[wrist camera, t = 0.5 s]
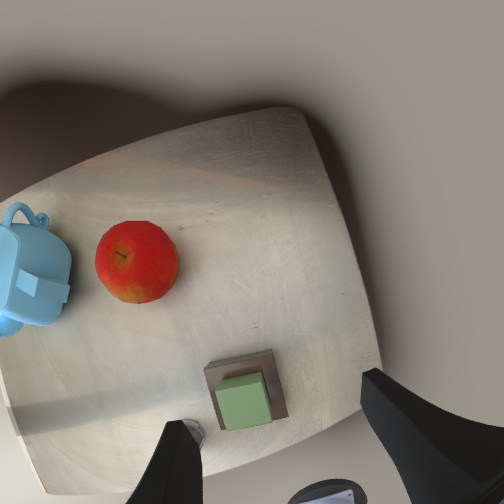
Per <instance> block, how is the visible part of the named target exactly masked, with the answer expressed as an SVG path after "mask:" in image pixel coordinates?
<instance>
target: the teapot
mask: <svg viewBox="0 0 504 504" xmlns="http://www.w3.org/2000/svg"><path fill="white" fill-rule="evenodd" d="M17 210H21V211H22V212H23V214H24V215H25V216H26V218H27V219H28V221H29V222H30V224H31V225H29V224H23V223H12V219H13V216H14V214H15V213H16V212H17ZM40 221H41V223H40ZM48 225H49V218H48V216H47V215H46V214H44V213H38V214H37V215H36V217H35V215H34V214H33V212H32V211H31V209H30V208H29V207H28V206H27V205H26V204H24V203H21V202H17V203H14V204H12V205H11V206H10V207H9V208H8V209H7V211H6V213H5V215H4V218H3V224H0V313H1V315H0V338H3V337H9V336H12V335H14V334H15V333H17V332H18V331H19V330H20V329H21V327H22V326H23V325H24V323H26V324H31V325H42V326H44V325H49V324H51V323H52V322H54V321H55V320H56V319H57V318H58V316H59V315H60V313H61V310H62V306H63V303H67V298H68V294H69V290H70V285H68V280H69V275H70V269H71V262H72V259H71V254H70V251H69V249H68V247H67V246H66V245H65V243H64V242H63V241H62V240H61V239H60V238H58V237H57V236H56V235H54V234H53V233H51V232H50V231H48V230H46V229H47V228H48Z"/></svg>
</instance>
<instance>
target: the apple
mask: <svg viewBox="0 0 504 504" xmlns="http://www.w3.org/2000/svg"><path fill="white" fill-rule="evenodd" d="M178 265H179V258H178V255H177V251H176V247H175V245H174V244H173V243H172V241H171V240H170V238H169V237H168V236H167V234H166V233H165V232H164V231H163V230H162V229H161V227H159V226H157V225H155V224H153V223H151V222H148V221H125V222H122V223H120V224H117V225H114V226H113V227H112V228H111V229H109V230H108V231H107V232H106V233H105V234H104V235H103V236H102V238H101V240H100V243H99V245H98V247H97V250H96V258H95V266H96V270H97V273H98V277H99V279H100V280H101V282H102V283H103V284H104V286H105V287H106V289H107V290H108V291H109V292H110V293H111V294H112V295H113V296H115V297H117V298H118V299H120V300H122V301H123V302H129V303H137V304H140V303H147V302H151V301H154V300H157V299H159V298H162V297H163V296H164V295H165V294H166V293H167V292H168V291H169V290H170V289H171V288H172V286H173V284H174V282H175V279H176V277H177V275H178Z"/></svg>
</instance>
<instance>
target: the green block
mask: <svg viewBox="0 0 504 504" xmlns="http://www.w3.org/2000/svg"><path fill="white" fill-rule="evenodd" d="M215 393H216V396H217V400H218V403H219V407H220V410H221V413H222V417H223V420H224V423H225V426H226V429H227V431H230V430H236V429H242V428H247V427H253V426H258V425H263V424H267V423H272V414H271V406H270V403H269V399H268V395H267V391H266V388H265V384H264V380H263V376H262V372H258V373H254V374H249V375H245V376H240V377H235V378H230V379H225V380H221V382H220V383H219V385H218V387H217V389H216V390H215Z"/></svg>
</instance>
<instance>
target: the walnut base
mask: <svg viewBox="0 0 504 504" xmlns="http://www.w3.org/2000/svg"><path fill="white" fill-rule="evenodd" d="M203 371H204V374H205V378H206V381H207V385H208V389H209V392H210V395H211V399H212V402H213V406H214V409H215V412H216V415H217V419H218V422H219V425H220V428H221V430H225V429H226V426H225V423H224V420H223V417H222V413H221V410H220V407H219V403H218V400H217V396H216V393H215V390H216V389H217V387H218V385H219V383H220V382H221V380H225V379H230V378H235V377H240V376H245V375H249V374H254V373H258V372H262V376H263V380H264V384H265V388H266V391H267V395H268V399H269V403H270V406H271V414H272V421H273V420H277V419H281V418H285V417H289V416H288V412H287V408H286V404H285V400H284V396H283V392H282V388H281V384H280V380H279V376H278V372H277V368H276V364H275V361H274V357H273V353H272V349H269V350H265V351H261V352H257V353H253V354H248V355H244V356H239V357H235V358H230V359H225V360H220V361H215V362H210V363H209V364H208V365H207V366H206V367H205V368H204V369H203Z"/></svg>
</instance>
